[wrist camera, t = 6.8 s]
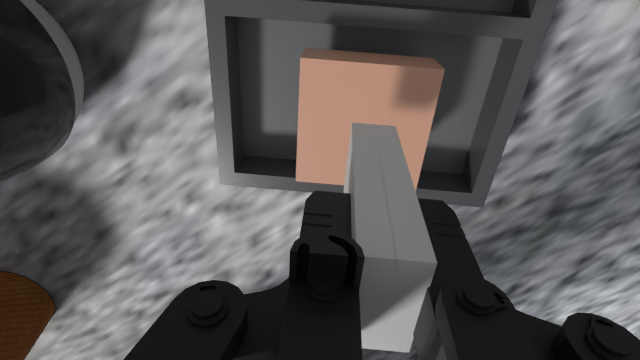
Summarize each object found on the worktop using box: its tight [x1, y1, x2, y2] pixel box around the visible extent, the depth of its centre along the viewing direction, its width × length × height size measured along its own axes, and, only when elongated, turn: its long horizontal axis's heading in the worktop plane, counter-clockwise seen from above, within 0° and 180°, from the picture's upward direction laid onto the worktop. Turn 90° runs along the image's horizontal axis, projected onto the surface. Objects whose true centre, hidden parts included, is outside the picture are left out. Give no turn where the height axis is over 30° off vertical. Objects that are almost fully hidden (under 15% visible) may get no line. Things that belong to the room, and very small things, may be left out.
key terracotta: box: [296, 48, 445, 192], centre depth 16 cm, size 6×6×2 cm
